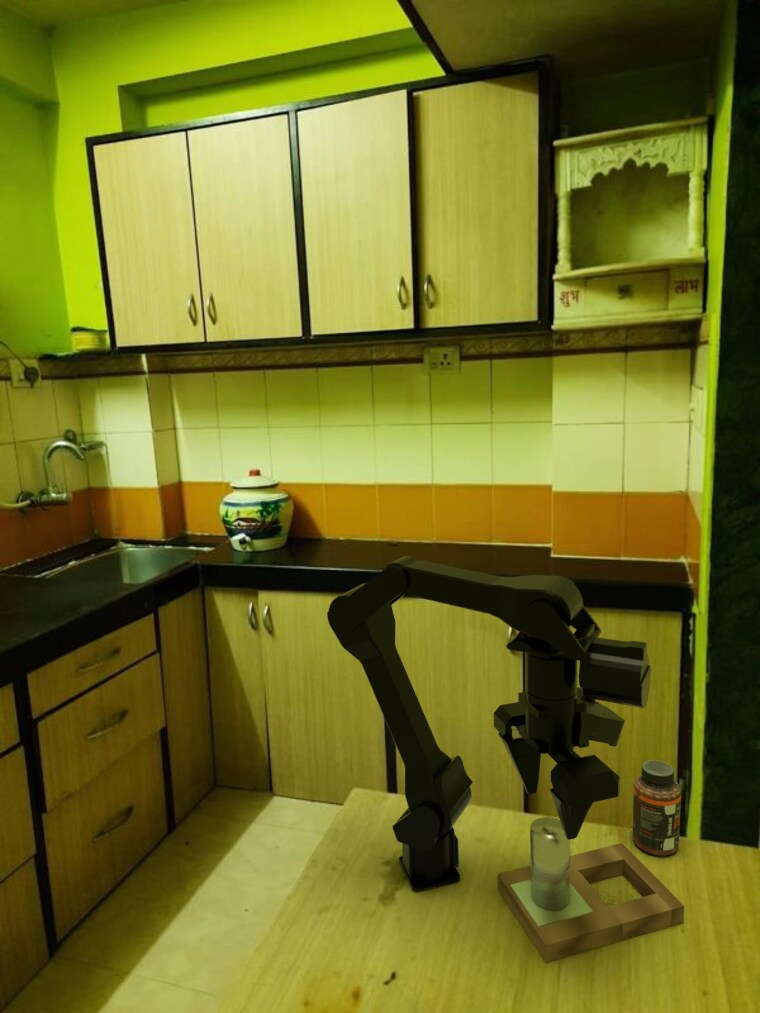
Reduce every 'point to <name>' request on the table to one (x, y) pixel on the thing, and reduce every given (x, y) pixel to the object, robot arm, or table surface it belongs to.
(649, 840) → the supplement bottle
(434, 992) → the table surface
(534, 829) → the clear glass jar
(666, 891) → the pocket block
